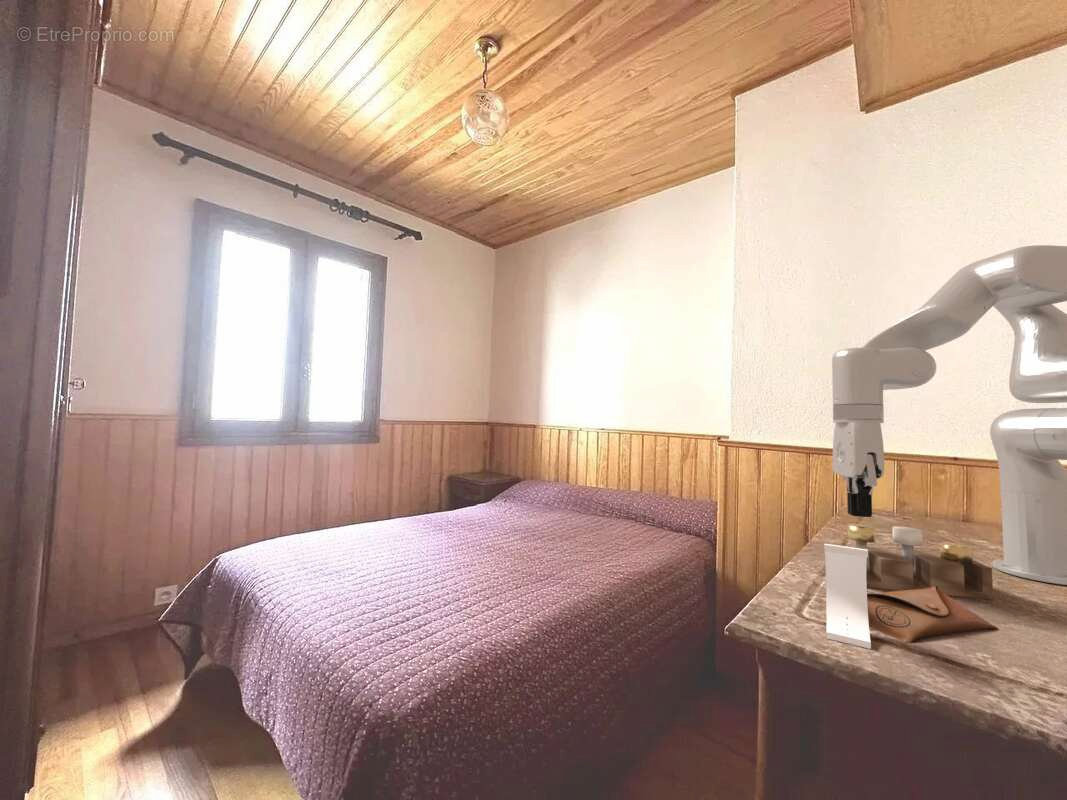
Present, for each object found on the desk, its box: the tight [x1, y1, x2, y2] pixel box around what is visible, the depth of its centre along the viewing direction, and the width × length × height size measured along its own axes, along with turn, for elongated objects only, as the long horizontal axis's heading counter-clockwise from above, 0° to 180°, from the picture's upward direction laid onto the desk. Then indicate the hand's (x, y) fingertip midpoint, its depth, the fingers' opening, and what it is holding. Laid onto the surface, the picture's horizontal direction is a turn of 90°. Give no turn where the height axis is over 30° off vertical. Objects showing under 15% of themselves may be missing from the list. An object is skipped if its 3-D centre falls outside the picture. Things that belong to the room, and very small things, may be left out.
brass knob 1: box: [847, 523, 876, 562], centre depth 79 cm, size 4×4×6 cm
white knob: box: [892, 526, 924, 567], centre depth 77 cm, size 4×4×6 cm
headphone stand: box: [823, 543, 872, 650], centre depth 58 cm, size 5×6×12 cm
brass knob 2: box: [939, 541, 974, 565], centre depth 75 cm, size 4×4×6 cm
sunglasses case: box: [867, 586, 998, 644], centre depth 62 cm, size 18×7×7 cm
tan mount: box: [837, 544, 994, 600], centre depth 76 cm, size 19×8×5 cm, turn 74°
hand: (859, 515), depth 79 cm, fingers closed
